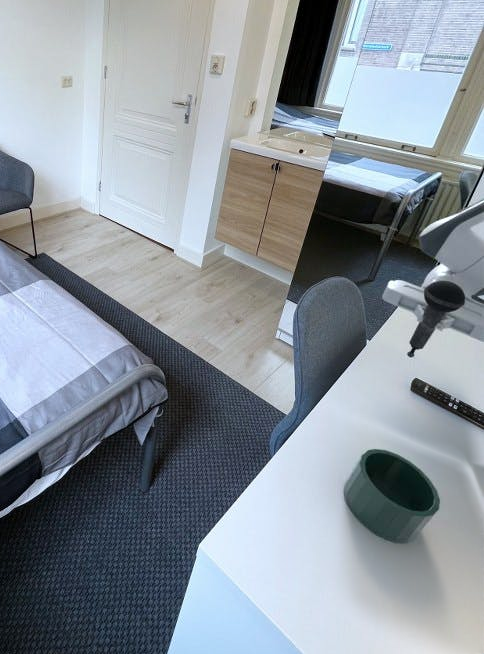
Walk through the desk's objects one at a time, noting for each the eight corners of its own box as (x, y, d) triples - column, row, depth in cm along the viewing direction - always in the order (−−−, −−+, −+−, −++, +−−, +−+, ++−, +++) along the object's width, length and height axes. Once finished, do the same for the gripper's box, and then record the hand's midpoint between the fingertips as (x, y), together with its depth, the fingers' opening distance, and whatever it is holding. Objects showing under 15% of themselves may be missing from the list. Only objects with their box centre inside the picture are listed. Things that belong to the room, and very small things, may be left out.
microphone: (390, 342, 99) (428, 270, 90) (425, 353, 96) (468, 280, 87) (393, 359, 94) (434, 285, 84) (430, 372, 91) (476, 297, 81)
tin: (409, 492, 78) (428, 465, 74) (426, 556, 69) (449, 529, 65) (340, 466, 82) (355, 439, 78) (347, 524, 72) (365, 496, 68)
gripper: (396, 268, 103) (381, 289, 94) (504, 308, 91) (499, 336, 82) (385, 289, 106) (370, 311, 97) (488, 331, 94) (482, 360, 85)
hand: (430, 323), depth 89 cm, fingers closed on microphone
